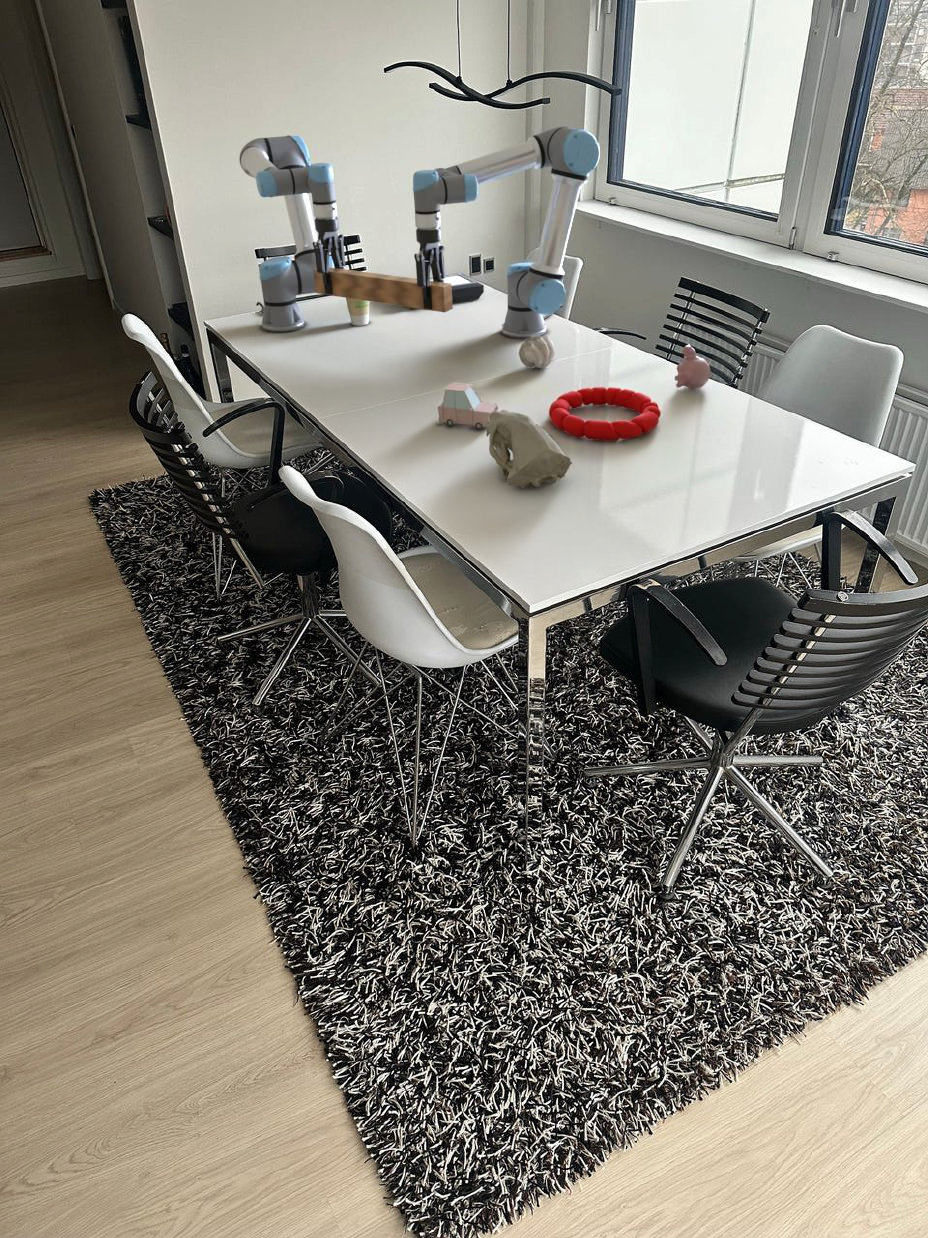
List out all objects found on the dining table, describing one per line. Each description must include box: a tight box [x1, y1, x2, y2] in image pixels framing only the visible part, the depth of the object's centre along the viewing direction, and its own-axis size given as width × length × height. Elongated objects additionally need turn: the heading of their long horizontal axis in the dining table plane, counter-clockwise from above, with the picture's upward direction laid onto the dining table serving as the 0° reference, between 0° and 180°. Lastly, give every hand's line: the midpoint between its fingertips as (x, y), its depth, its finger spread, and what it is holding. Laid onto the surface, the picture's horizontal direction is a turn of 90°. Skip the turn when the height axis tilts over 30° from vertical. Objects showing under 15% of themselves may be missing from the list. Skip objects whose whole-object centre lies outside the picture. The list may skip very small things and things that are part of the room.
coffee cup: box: [345, 298, 370, 327], centre depth 323 cm, size 10×10×15 cm
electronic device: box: [407, 273, 485, 310], centre depth 349 cm, size 32×6×20 cm
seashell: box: [518, 335, 556, 369], centre depth 279 cm, size 10×15×10 cm
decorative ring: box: [548, 386, 661, 442], centre depth 242 cm, size 7×30×30 cm
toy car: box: [437, 382, 499, 431], centre depth 243 cm, size 9×15×10 cm, turn 70°
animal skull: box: [485, 409, 573, 489], centre depth 216 cm, size 17×25×20 cm
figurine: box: [674, 344, 711, 390], centre depth 259 cm, size 9×11×12 cm
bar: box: [313, 267, 453, 313], centre depth 289 cm, size 52×5×8 cm, turn 58°
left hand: (334, 291), depth 300 cm, fingers closed on bar, 5 cm apart
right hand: (432, 305), depth 282 cm, fingers closed on bar, 5 cm apart
